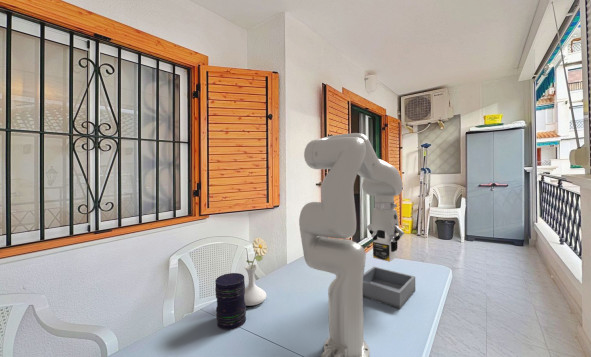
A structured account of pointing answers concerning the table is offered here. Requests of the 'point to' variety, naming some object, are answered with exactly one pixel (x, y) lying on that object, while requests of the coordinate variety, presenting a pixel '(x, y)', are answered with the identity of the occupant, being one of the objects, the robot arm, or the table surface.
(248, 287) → the flower in vase
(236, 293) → the dark blue cylinder
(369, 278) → the bin
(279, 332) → the table surface
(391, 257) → the medicine bottle
